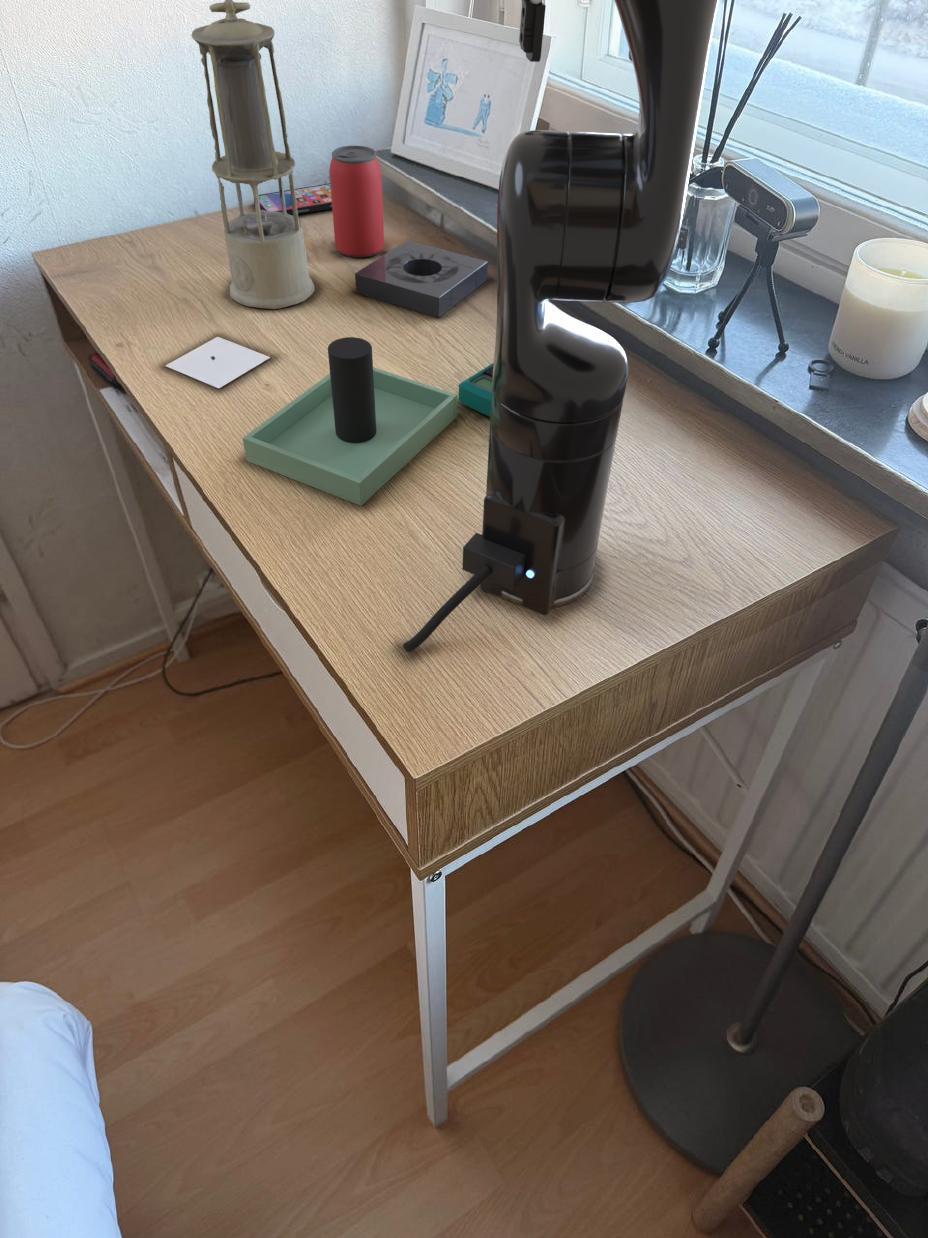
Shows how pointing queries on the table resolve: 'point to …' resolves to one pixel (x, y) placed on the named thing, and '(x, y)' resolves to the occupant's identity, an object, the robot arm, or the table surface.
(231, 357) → the coaster
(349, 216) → the beer can
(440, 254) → the drain plate
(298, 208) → the smartphone
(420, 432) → the basin tray
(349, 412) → the black cylinder
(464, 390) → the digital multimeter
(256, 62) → the lamp
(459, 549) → the table surface
